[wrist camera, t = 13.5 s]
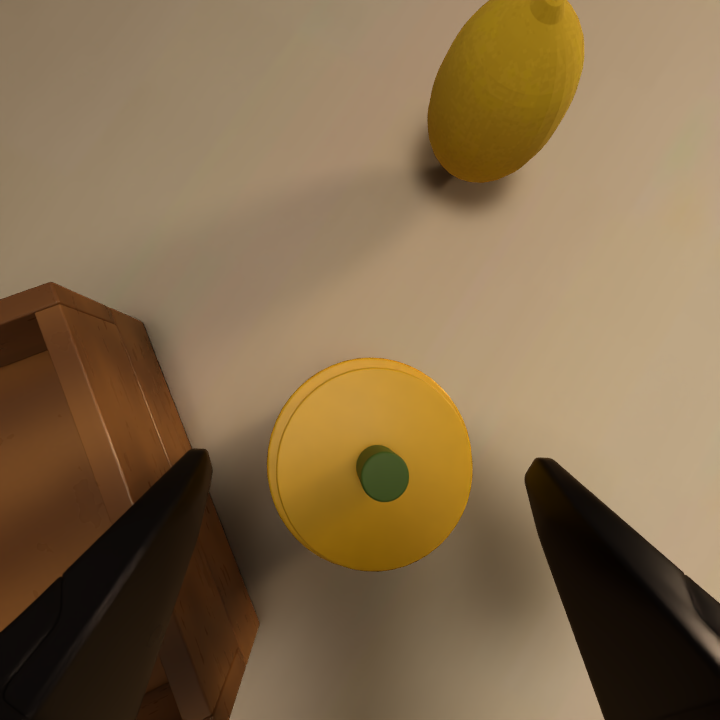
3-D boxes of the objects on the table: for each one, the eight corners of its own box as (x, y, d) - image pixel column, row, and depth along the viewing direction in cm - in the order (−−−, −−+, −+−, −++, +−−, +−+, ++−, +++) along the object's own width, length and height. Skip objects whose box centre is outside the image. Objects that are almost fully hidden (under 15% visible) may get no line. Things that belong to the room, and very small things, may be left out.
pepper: (403, 520, 16) (490, 658, 7) (273, 488, 16) (203, 594, 7) (431, 391, 17) (540, 377, 8) (309, 359, 17) (287, 309, 8)
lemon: (465, 234, 18) (567, 106, 11) (389, 162, 19) (434, -17, 11) (530, 168, 19) (669, 4, 11) (456, 100, 19) (544, -108, 12)
